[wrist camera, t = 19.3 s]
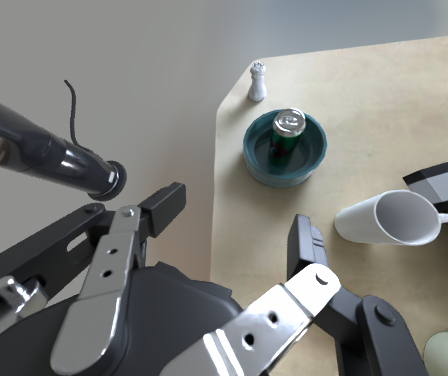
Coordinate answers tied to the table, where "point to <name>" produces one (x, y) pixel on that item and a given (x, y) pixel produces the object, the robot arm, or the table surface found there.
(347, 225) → the mug
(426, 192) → the game console
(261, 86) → the rook chess piece
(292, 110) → the soda can
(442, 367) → the can
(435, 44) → the table surface
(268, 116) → the teal serving bowl
